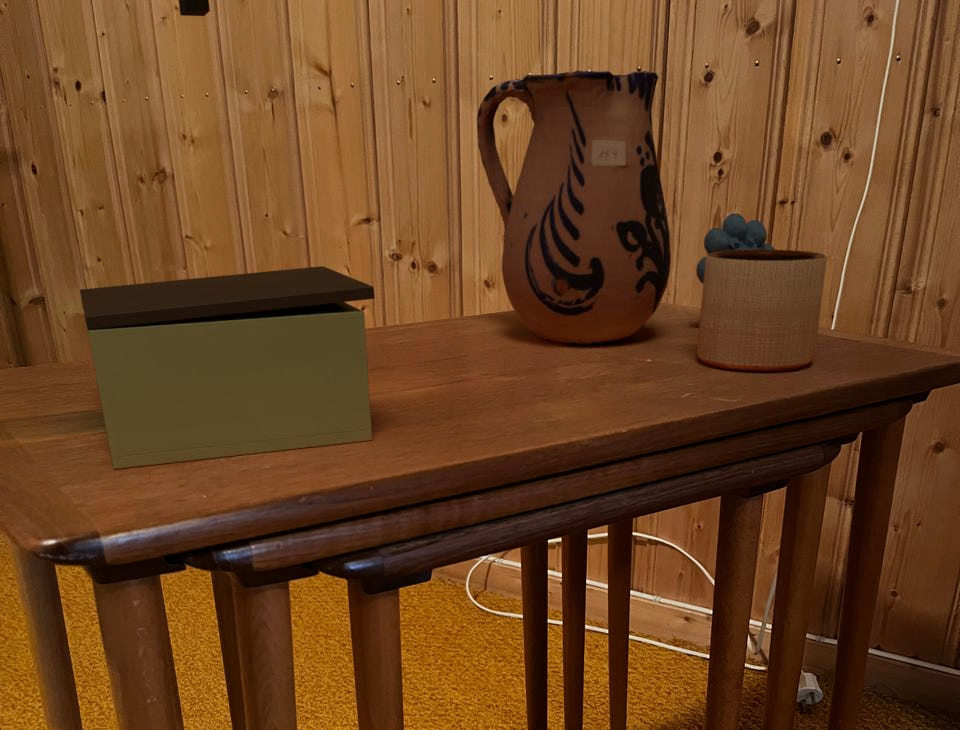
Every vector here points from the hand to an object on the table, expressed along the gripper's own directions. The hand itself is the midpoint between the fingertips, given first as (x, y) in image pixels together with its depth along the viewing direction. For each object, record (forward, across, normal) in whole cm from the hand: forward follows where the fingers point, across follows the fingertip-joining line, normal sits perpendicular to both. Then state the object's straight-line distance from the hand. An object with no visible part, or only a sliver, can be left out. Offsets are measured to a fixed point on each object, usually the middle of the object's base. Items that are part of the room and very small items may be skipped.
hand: (194, 12), depth 61 cm
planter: (+27, +49, +5) cm, 56 cm away
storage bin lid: (+17, -1, 0) cm, 17 cm away
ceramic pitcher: (+27, +39, +25) cm, 53 cm away
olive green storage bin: (+26, -1, 0) cm, 26 cm away
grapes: (+27, +59, +22) cm, 68 cm away
